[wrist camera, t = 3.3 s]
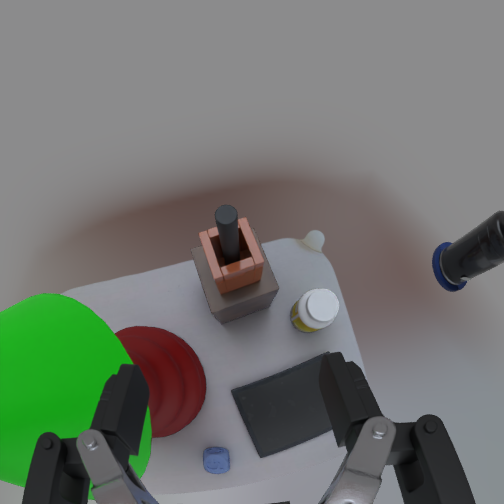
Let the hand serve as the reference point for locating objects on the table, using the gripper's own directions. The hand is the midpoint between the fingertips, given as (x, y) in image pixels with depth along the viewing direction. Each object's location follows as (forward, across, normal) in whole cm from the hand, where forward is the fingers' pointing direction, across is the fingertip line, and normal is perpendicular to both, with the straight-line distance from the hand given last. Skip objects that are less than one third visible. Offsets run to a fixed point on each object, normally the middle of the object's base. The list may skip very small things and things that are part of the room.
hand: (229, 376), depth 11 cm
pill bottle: (+30, -12, +21) cm, 38 cm away
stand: (+33, 0, +17) cm, 37 cm away
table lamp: (+22, +16, +28) cm, 40 cm away
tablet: (+18, -8, +32) cm, 38 cm away
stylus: (+23, 0, +7) cm, 24 cm away
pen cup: (+24, 0, +7) cm, 25 cm away
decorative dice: (+12, +6, +39) cm, 41 cm away
